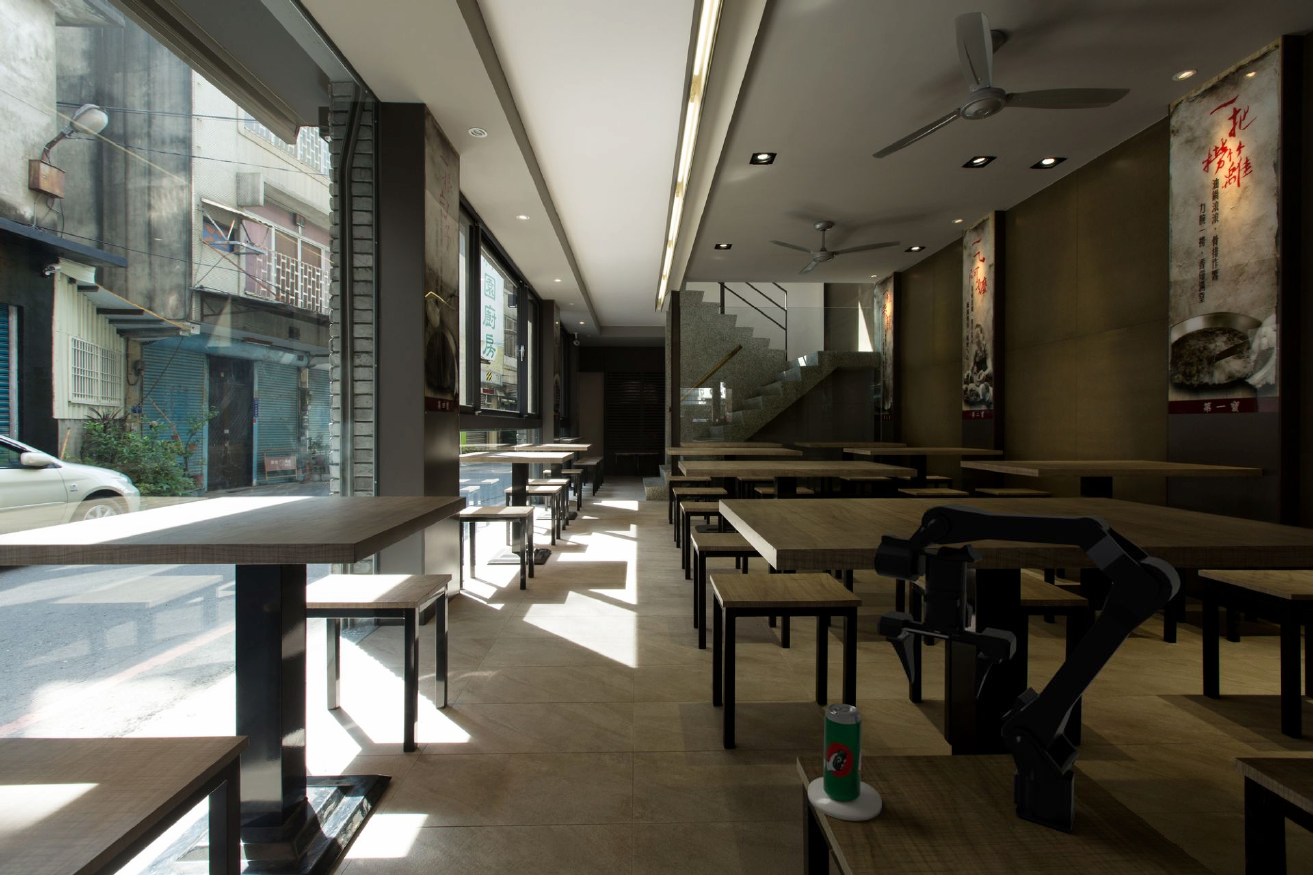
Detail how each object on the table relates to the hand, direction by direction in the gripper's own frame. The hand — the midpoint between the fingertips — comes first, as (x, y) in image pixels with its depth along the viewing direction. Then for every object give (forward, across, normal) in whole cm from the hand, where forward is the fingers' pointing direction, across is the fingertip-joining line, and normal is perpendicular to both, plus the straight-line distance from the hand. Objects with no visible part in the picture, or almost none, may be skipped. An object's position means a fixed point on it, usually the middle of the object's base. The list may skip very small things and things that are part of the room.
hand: (942, 689), depth 101 cm
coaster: (+13, +9, +16) cm, 22 cm away
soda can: (+12, +9, +16) cm, 22 cm away
